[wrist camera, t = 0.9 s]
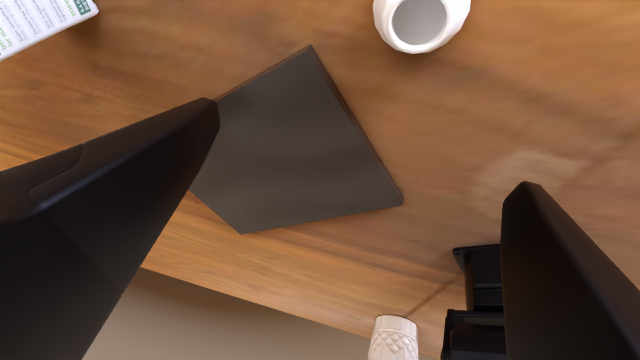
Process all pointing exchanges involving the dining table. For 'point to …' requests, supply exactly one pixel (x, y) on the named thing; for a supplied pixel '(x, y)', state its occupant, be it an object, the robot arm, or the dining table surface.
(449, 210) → the dining table surface
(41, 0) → the syrup box
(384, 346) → the white cup
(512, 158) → the dining table surface
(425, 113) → the dining table surface
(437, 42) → the lidless jar
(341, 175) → the serving board
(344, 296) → the dining table surface
